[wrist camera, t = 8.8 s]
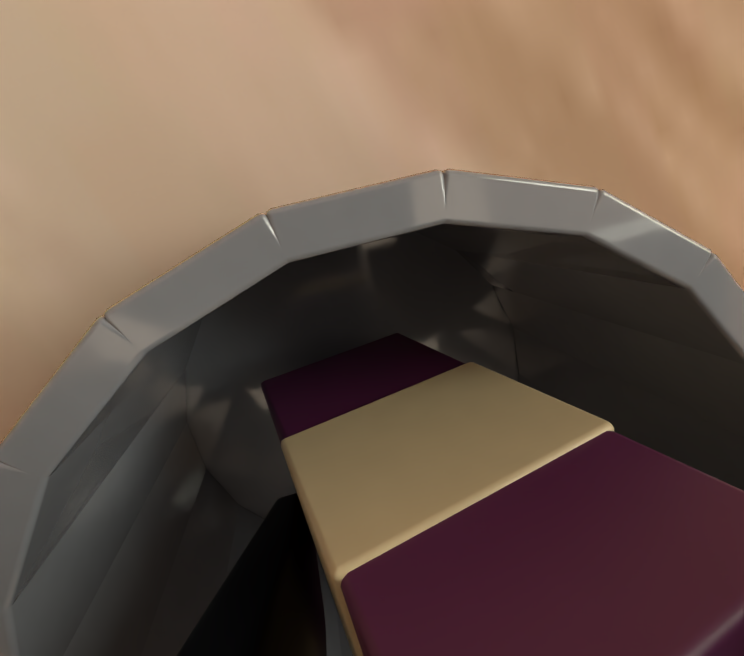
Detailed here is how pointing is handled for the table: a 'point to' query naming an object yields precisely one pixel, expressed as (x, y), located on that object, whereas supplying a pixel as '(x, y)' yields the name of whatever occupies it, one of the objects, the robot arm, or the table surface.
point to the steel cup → (320, 341)
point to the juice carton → (501, 516)
